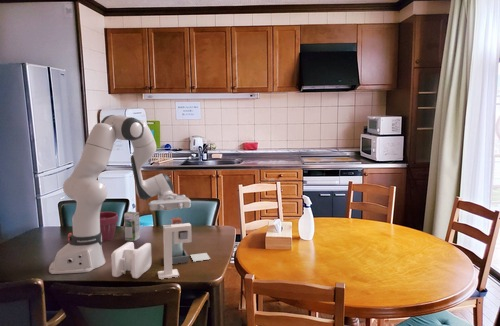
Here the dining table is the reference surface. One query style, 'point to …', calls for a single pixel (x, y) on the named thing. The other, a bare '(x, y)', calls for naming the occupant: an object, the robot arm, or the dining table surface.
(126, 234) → the syrup box
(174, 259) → the socket collar
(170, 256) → the stand
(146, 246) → the cable organizer
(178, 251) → the pale blue bottle
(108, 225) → the plant pot
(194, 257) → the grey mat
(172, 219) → the bolt
